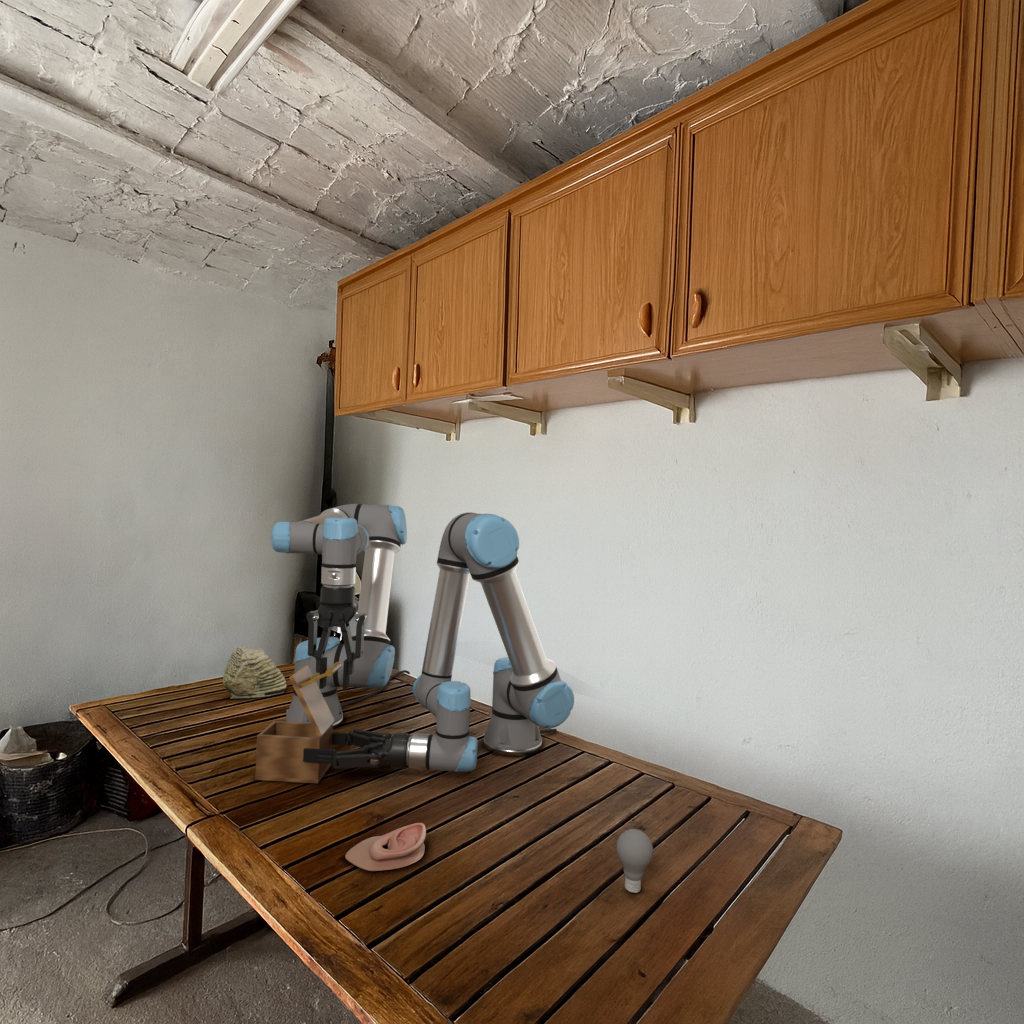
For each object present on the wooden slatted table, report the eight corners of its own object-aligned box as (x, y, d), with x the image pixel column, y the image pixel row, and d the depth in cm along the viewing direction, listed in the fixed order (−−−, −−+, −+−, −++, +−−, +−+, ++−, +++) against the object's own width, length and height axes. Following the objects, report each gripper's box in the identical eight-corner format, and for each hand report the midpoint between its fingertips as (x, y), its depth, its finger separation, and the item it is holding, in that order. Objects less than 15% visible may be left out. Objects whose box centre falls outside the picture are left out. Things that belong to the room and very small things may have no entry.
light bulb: (610, 879, 108) (613, 822, 108) (644, 879, 109) (647, 822, 109) (619, 902, 102) (622, 840, 102) (655, 901, 103) (658, 840, 103)
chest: (255, 780, 140) (256, 735, 140) (272, 762, 150) (273, 720, 149) (317, 783, 140) (319, 739, 140) (331, 765, 149) (332, 724, 149)
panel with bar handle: (288, 677, 140) (324, 660, 139) (303, 666, 149) (337, 650, 149) (317, 737, 140) (353, 720, 139) (331, 722, 149) (364, 706, 149)
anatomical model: (337, 842, 109) (366, 811, 120) (336, 865, 109) (365, 832, 120) (410, 854, 106) (432, 821, 117) (409, 878, 106) (432, 842, 118)
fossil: (218, 695, 195) (220, 647, 195) (278, 685, 208) (279, 640, 207) (228, 703, 189) (230, 653, 188) (289, 692, 201) (290, 645, 201)
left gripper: (293, 586, 140) (289, 690, 141) (372, 589, 140) (368, 694, 140) (305, 581, 148) (301, 680, 148) (380, 585, 147) (376, 684, 148)
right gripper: (398, 789, 133) (293, 783, 133) (417, 748, 155) (326, 743, 156) (400, 754, 133) (294, 748, 133) (418, 717, 155) (327, 713, 155)
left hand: (334, 687), depth 144 cm, fingers open, 5 cm apart
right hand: (311, 745), depth 144 cm, fingers closed on chest, 9 cm apart
